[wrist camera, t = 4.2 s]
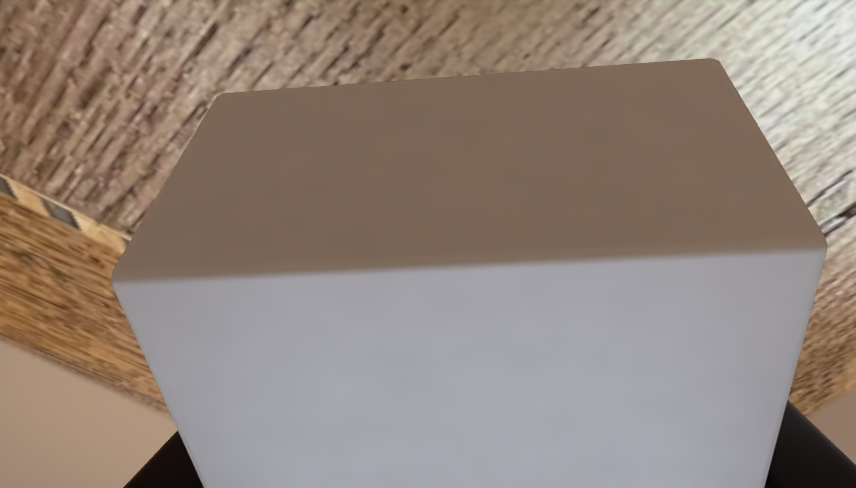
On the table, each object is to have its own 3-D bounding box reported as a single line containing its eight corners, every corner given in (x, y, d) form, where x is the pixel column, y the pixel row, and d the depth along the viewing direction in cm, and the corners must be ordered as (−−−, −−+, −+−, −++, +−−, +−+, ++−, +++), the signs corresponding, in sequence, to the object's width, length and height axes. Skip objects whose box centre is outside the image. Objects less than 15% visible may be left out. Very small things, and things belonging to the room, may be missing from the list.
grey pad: (661, 493, 12) (708, 709, 9) (334, 498, 12) (300, 704, 10) (719, 53, 7) (835, 242, 5) (214, 89, 8) (102, 277, 5)
